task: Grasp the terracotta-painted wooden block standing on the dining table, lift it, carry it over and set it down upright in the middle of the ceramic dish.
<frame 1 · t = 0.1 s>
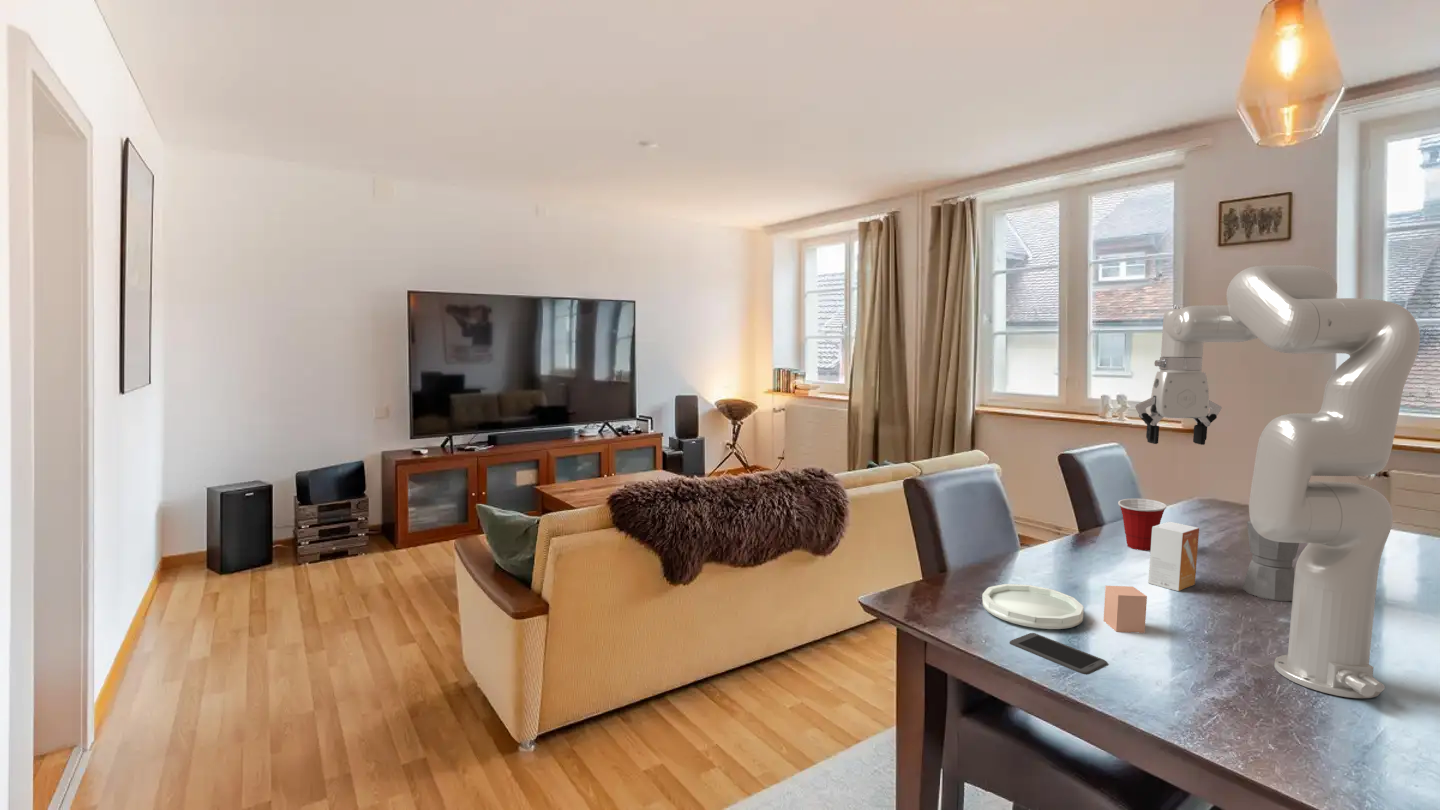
hand: (1175, 443, 150), 31 cm above the table, tool pointing down, fingers open, 9 cm apart
plastic cup: (1139, 548, 178), on the table
coffeepot: (1268, 593, 146), on the table
small box: (1171, 585, 151), on the table
dish: (1031, 612, 134), on the table
block: (1123, 626, 128), on the table
cell phone: (1056, 656, 117), on the table
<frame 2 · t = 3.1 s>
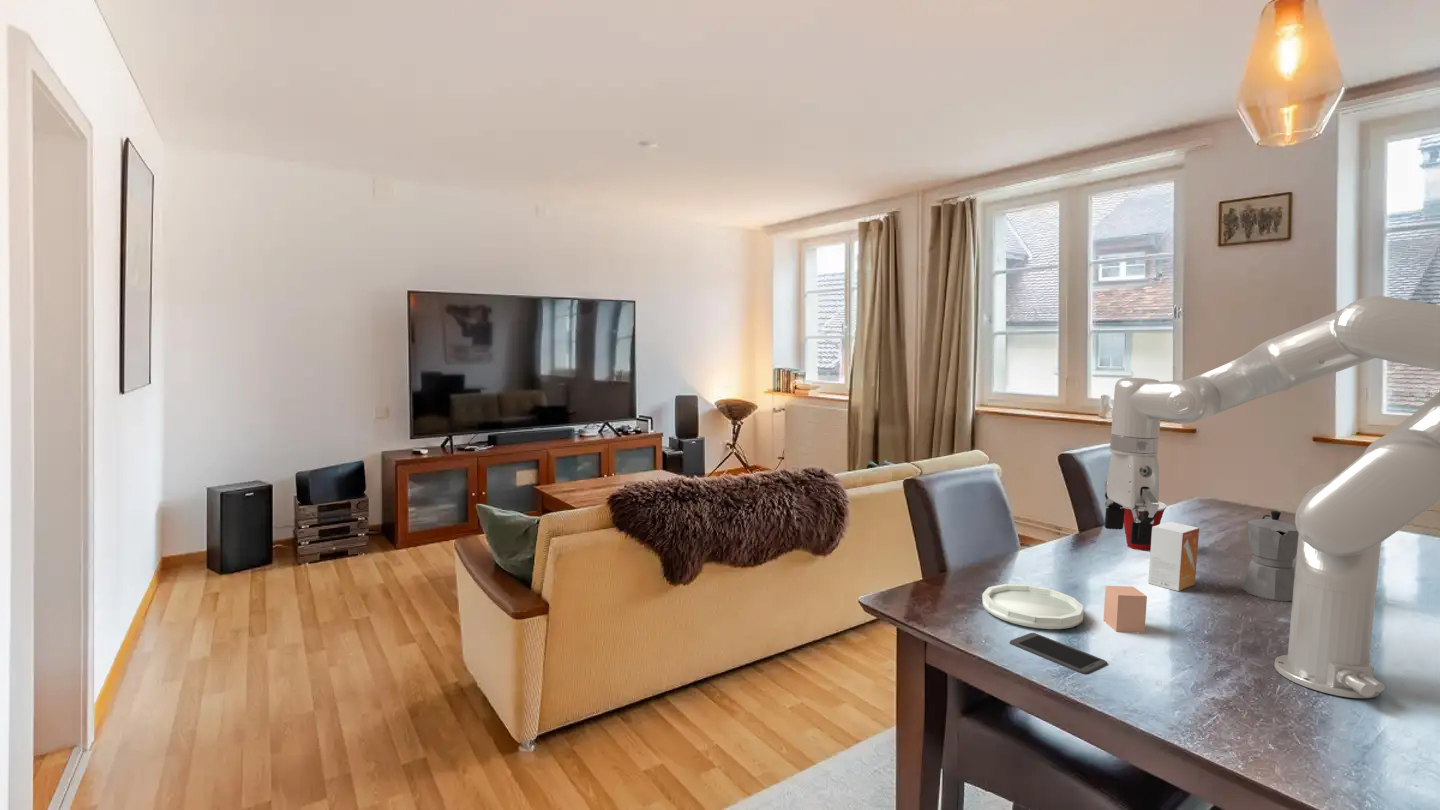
hand: (1126, 536, 127), 17 cm above the table, tool pointing down, fingers open, 9 cm apart
nothing on the table moved.
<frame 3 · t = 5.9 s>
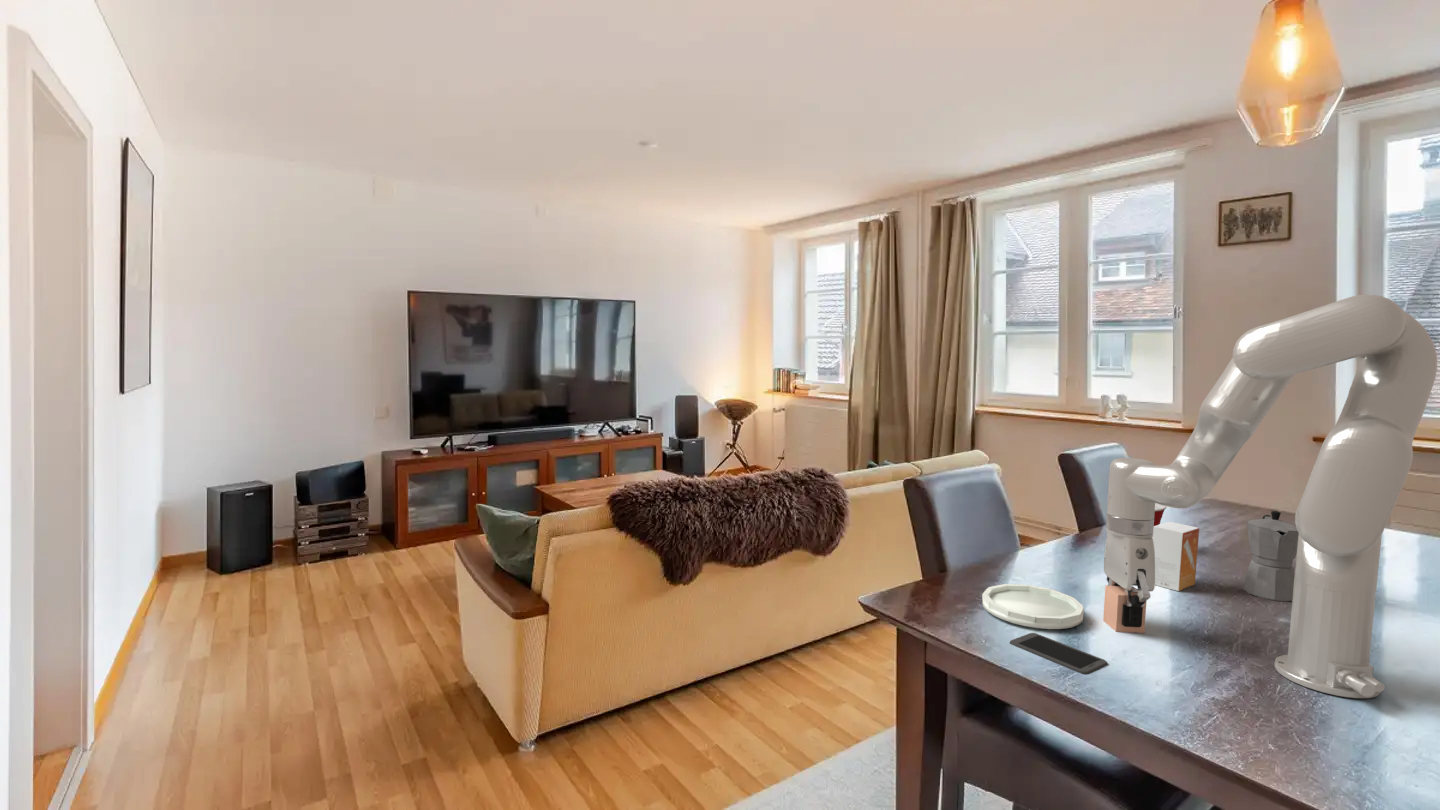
hand: (1123, 619, 128), 1 cm above the table, tool pointing down, fingers closed on block, 5 cm apart
block: (1123, 626, 128), on the table, touching gripper
everything else where it was.
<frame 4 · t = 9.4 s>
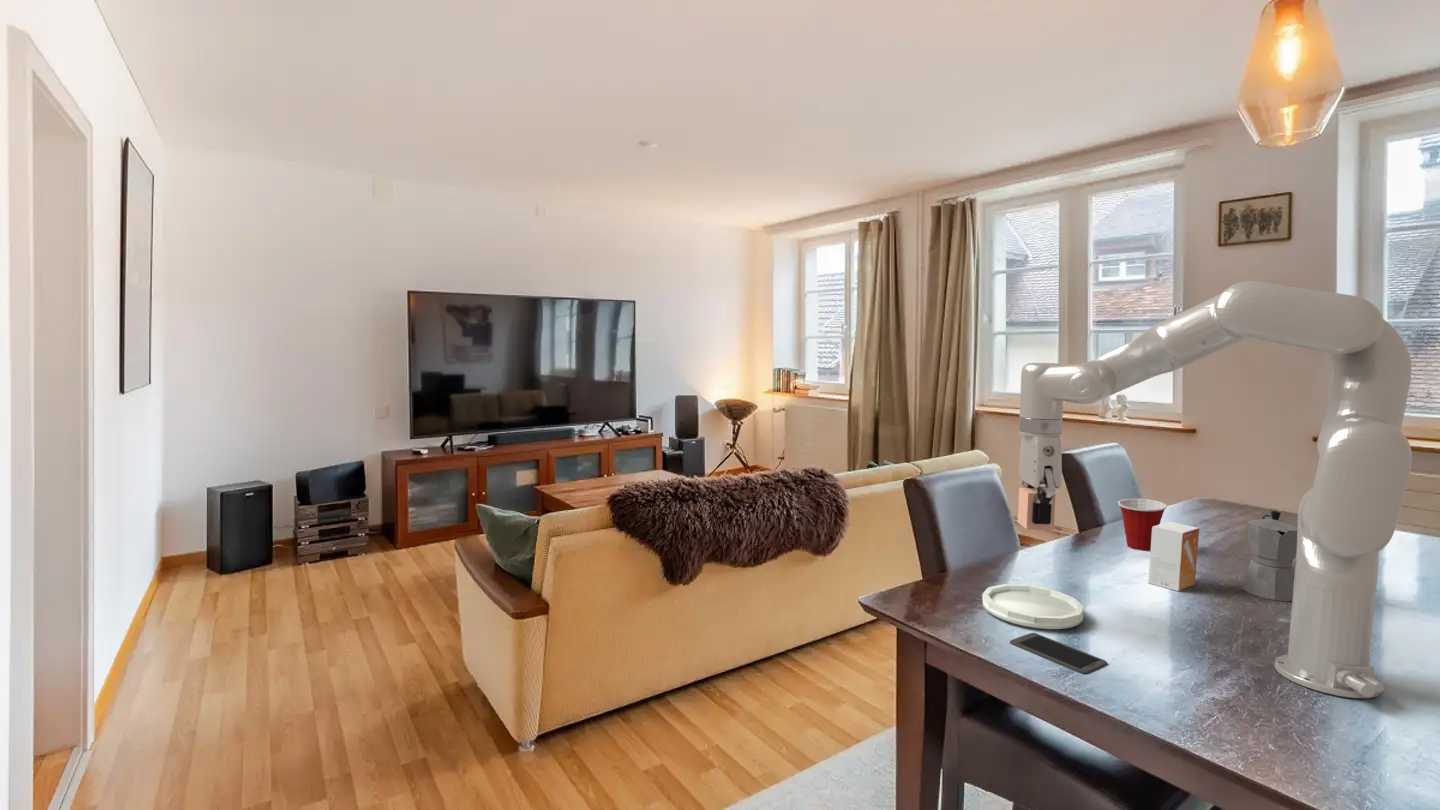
hand: (1035, 518, 132), 19 cm above the table, tool pointing down, fingers closed on block, 5 cm apart
block: (1035, 526, 133), point 17 cm above the table, touching gripper
everything else where it was.
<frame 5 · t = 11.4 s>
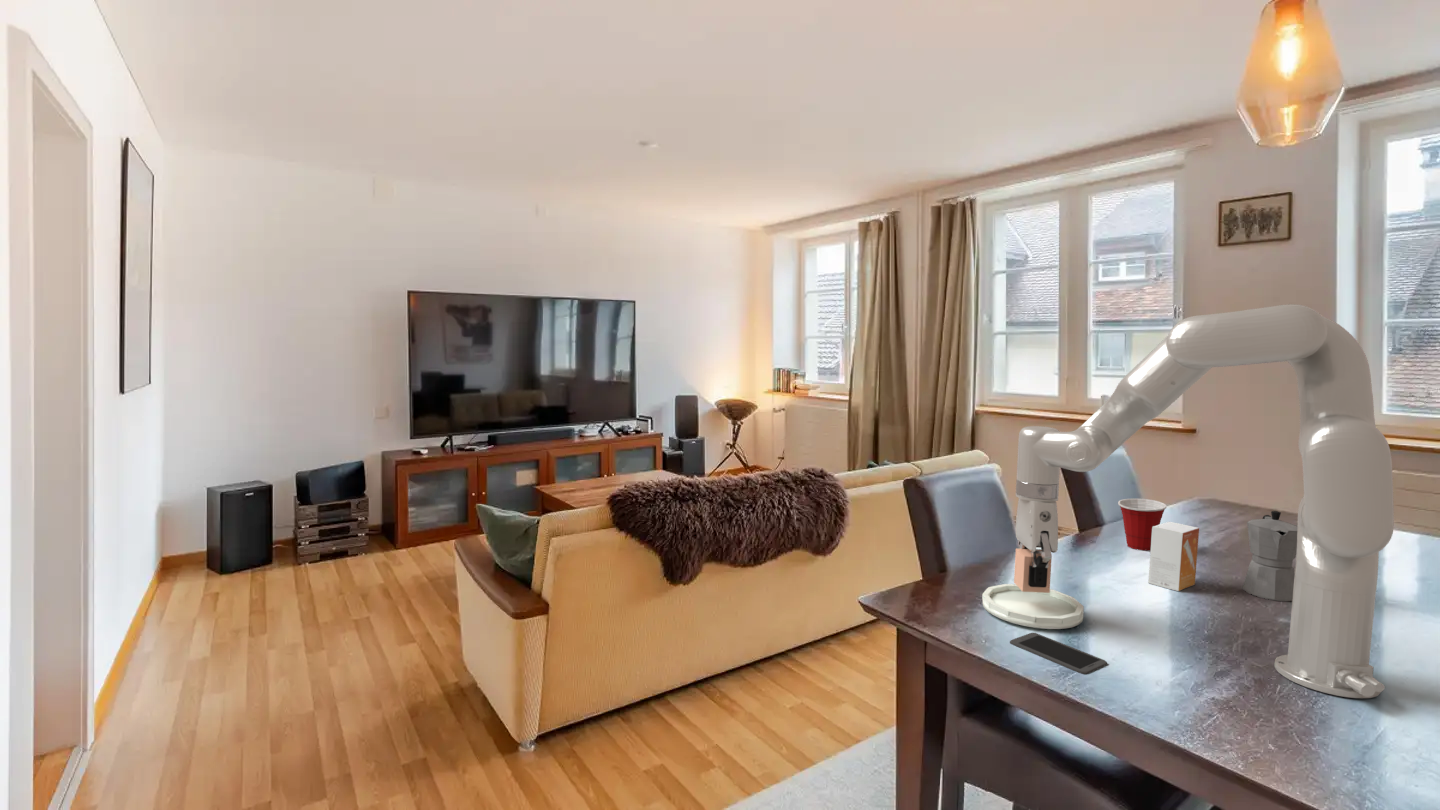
hand: (1031, 580, 134), 7 cm above the table, tool pointing down, fingers closed on block, 5 cm apart
block: (1031, 587, 134), point 5 cm above the table, touching gripper
everything else where it was.
when the fingers open (4 cm above the table, at t = 12.8 s): block stays where it is, resting on dish.
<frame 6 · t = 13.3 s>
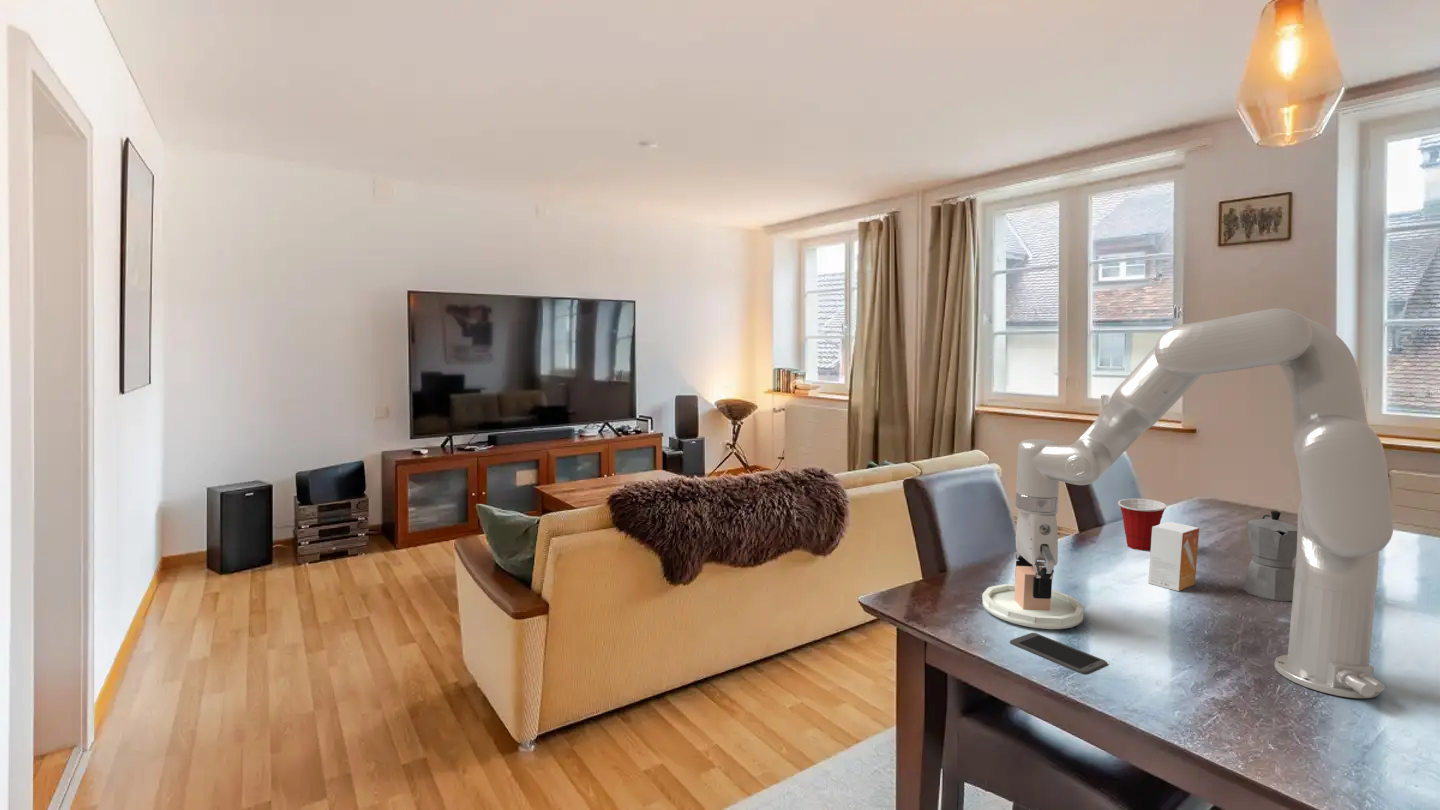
hand: (1032, 588, 134), 5 cm above the table, tool pointing down, fingers open, 9 cm apart
block: (1031, 605, 134), point 2 cm above the table, touching dish
everything else where it was.
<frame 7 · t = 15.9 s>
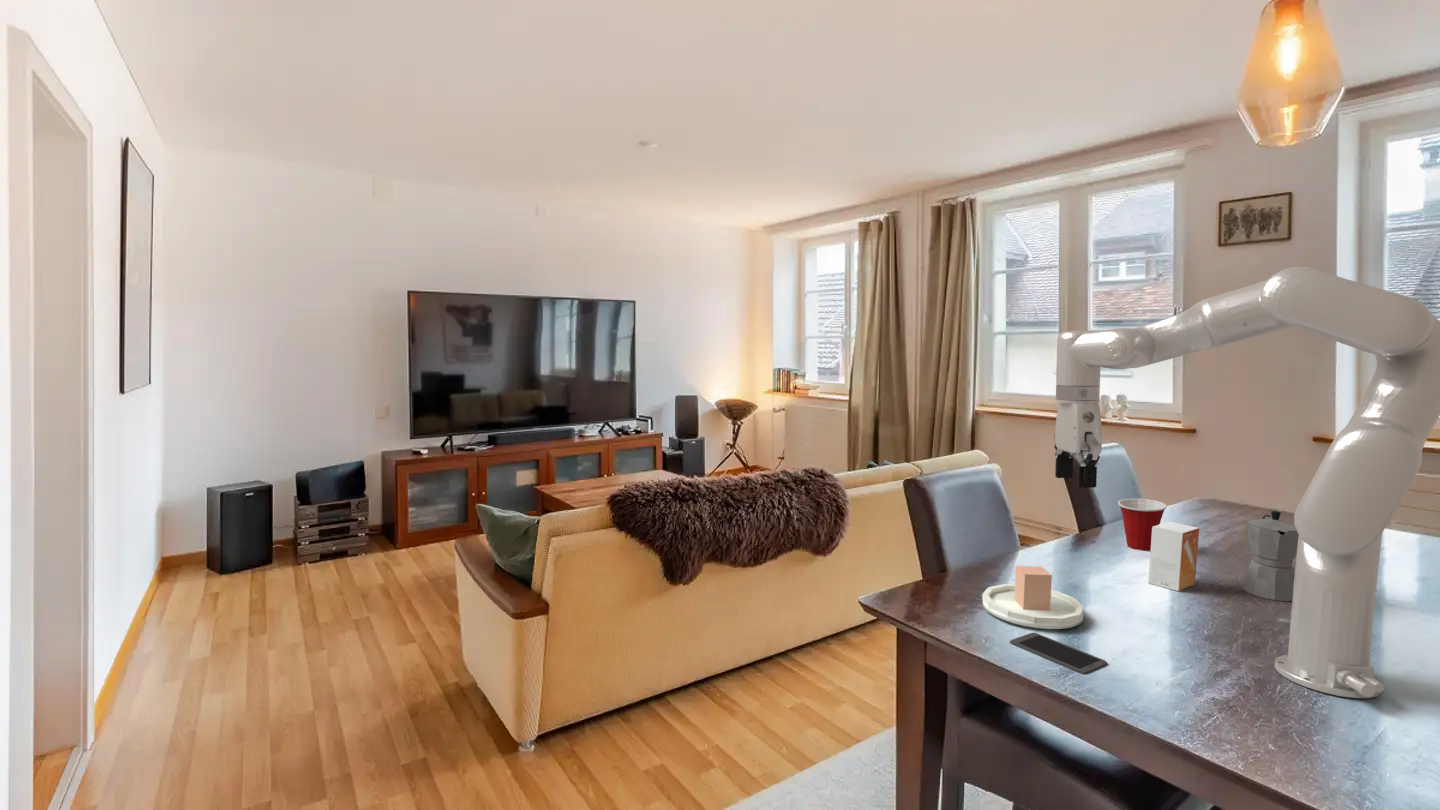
hand: (1074, 482, 133), 26 cm above the table, tool pointing down, fingers open, 9 cm apart
nothing on the table moved.
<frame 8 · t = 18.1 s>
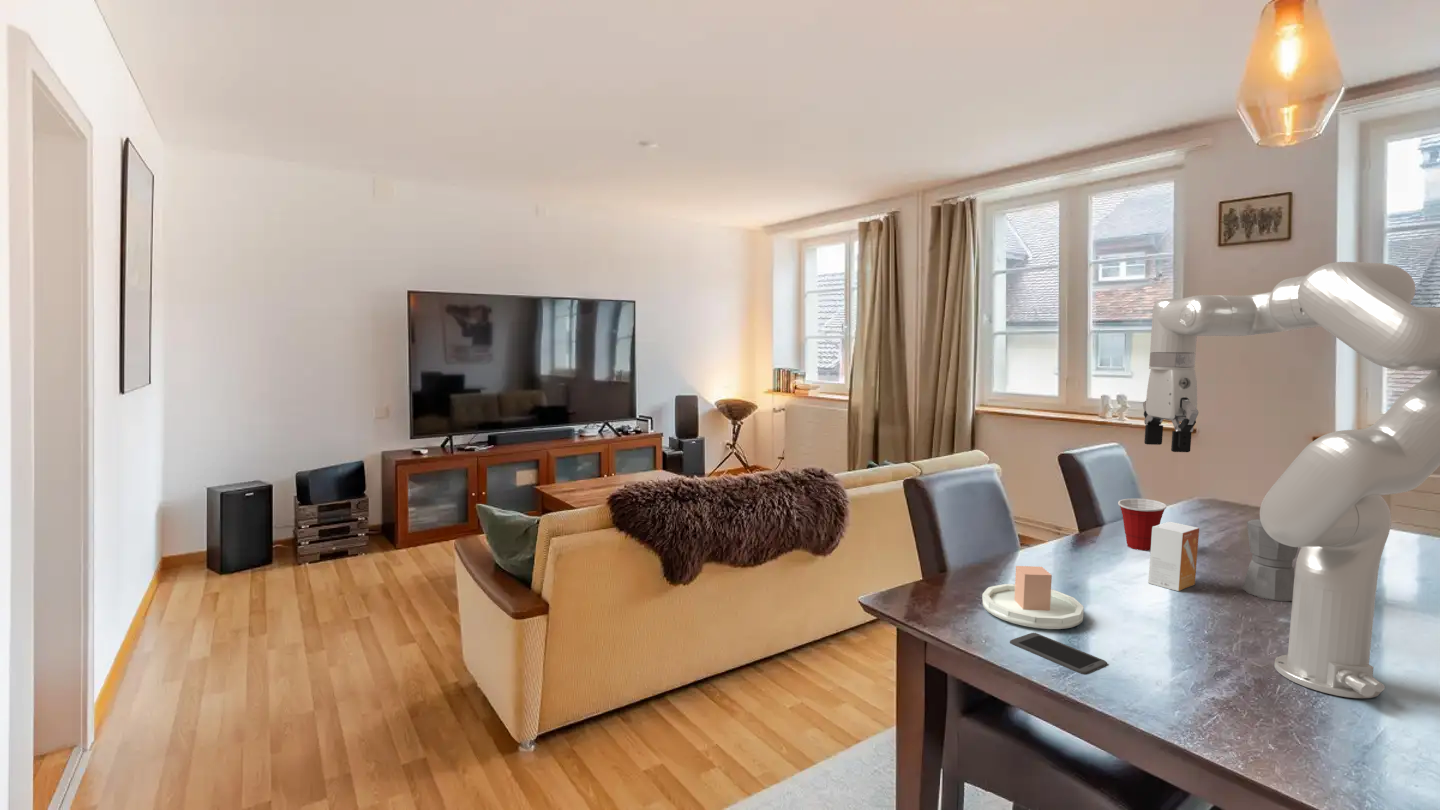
hand: (1166, 447, 136), 32 cm above the table, tool pointing down, fingers open, 9 cm apart
nothing on the table moved.
at the end: block inside the target area on the dish (0.0 cm from its centre), point 1.6 cm above the dish's base; block tilted 0°; the gripper is holding nothing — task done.
